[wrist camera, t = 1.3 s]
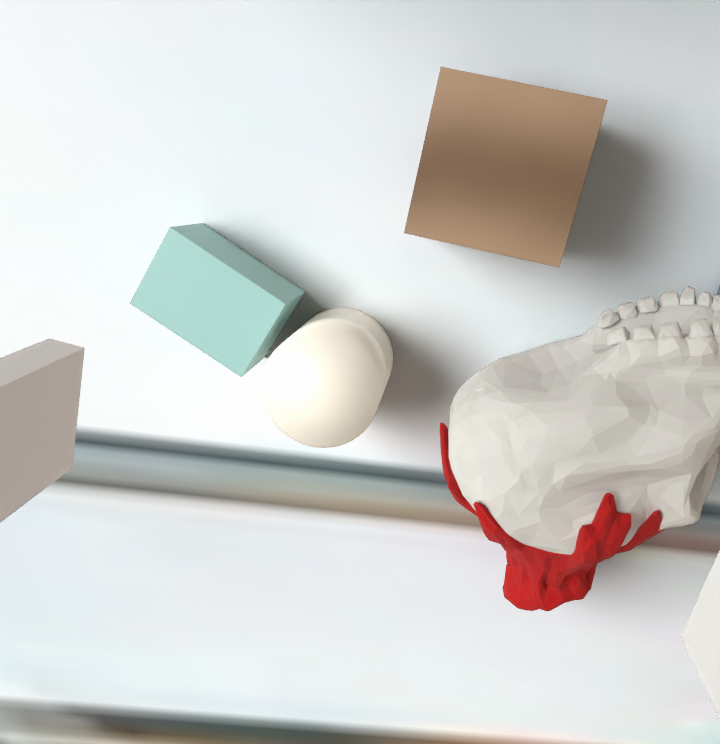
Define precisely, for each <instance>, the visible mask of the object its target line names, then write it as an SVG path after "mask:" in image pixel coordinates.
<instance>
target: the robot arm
mask: <svg viewBox="0 0 720 744" xmlns="http://www.w3.org/2000/svg"><path fill="white" fill-rule="evenodd" d="M83 358H84V348H83V347H79V346H76V345H72V344H68V343H64V342H60V341H57V340H53V339H47V340H44V341H42V342H39V343H37V344H34V345H32V346H30V347H27V348H25V349H22V350H20V351H17V352H15V353H12V354H10V355H7V356H5V357H2V358H0V522H2V521H3V520H4V519H6V518H7V517H8V516H10V515H11V514H12V513H14V512H15V511H16V510H17V509H19V508H20V507H21V506H23V505H24V504H25V503H27V502H28V501H29V500H31V499H32V498H33V497H35V496H36V495H37V494H39V493H40V492H41V491H43V490H44V489H45V488H46V487H48V486H49V485H50V484H52V483H53V482H54V481H56V480H57V479H58V478H60V477H61V476H62V475H64V474H65V473H66V472H68V471H69V470H70V469H72V465H73V456H74V446H75V436H76V426H77V416H78V407H79V397H80V387H81V377H82V367H83ZM681 639H682V641H683V643H684V645H685V647H686V650H687V652H688V654H689V656H690V658H691V660H692V662H693V664H694V666H695V669H696V671H697V673H698V675H699V677H700V679H701V681H702V683H703V685H704V688H705V690H706V692H707V694H708V696H709V698H710V700H711V702H712V704H713V707H714V709H715V711H716V713H717V715H718V717H719V719H720V550H719V553H718V555H717V557H716V559H715V562H714V564H713V566H712V568H711V571H710V573H709V575H708V577H707V580H706V582H705V584H704V586H703V588H702V591H701V593H700V595H699V597H698V600H697V602H696V604H695V606H694V609H693V611H692V613H691V615H690V618H689V620H688V622H687V624H686V627H685V629H684V631H683V633H682V635H681Z"/></svg>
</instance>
